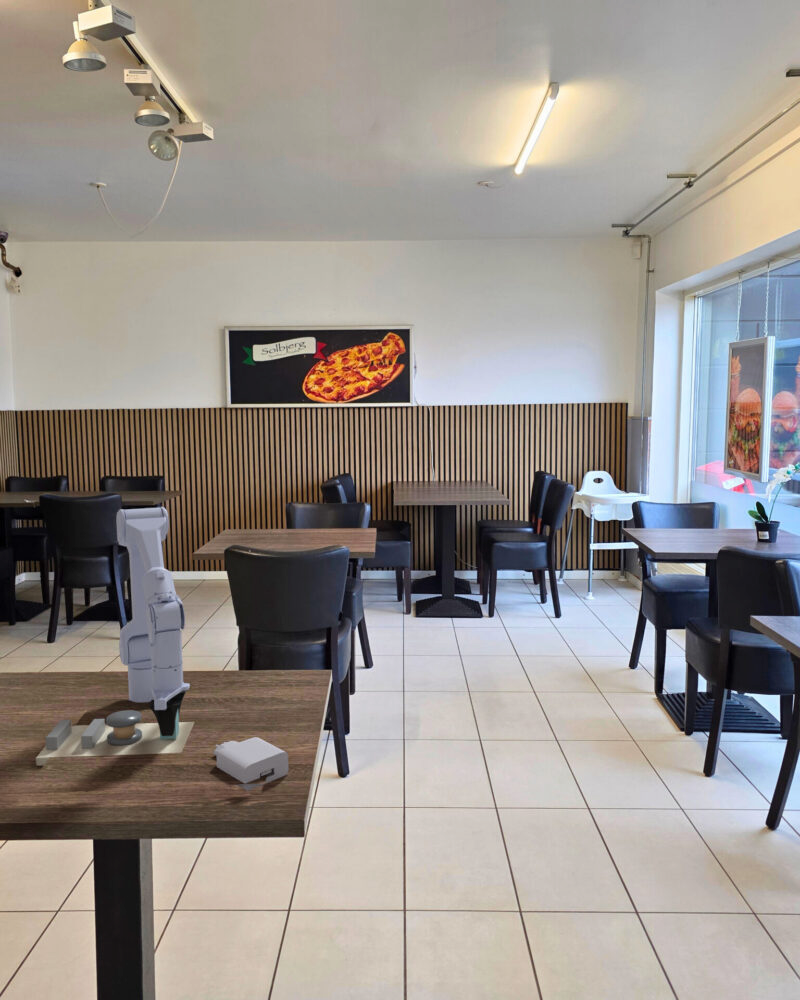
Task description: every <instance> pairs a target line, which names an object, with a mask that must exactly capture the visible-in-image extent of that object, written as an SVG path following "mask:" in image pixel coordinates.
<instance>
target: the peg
mask: <svg viewBox="0 0 800 1000" xmlns="http://www.w3.org/2000/svg"><path fill="white" fill-rule="evenodd" d="M179 722H180V714H179V713H178V710H177V715H176V721H175V730H174V734H173V736H162V735H161V732H160V739H176V738H177V736H178V734H179Z"/></svg>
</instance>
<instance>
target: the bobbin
mask: <svg viewBox="0 0 800 1000" xmlns="http://www.w3.org/2000/svg"><path fill="white" fill-rule="evenodd" d="M105 721H106V722H105V725H108V726H110V727H113V732H111V733H109V734H108V735H107V742H108V744H110V745H114V746H125V745H130V744H133V743H136V742H138V741H139V740H141V738H142V731H141V730H140V729H137V728H135V724H140V722H141V721H142V713H141V711H138V710H131V709H128V710H127V709H126V710H119V711H116V712H112V713H111V714H110V713H109V715H108V716H106V719H105Z"/></svg>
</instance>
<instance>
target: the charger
mask: <svg viewBox="0 0 800 1000" xmlns="http://www.w3.org/2000/svg"><path fill="white" fill-rule="evenodd" d="M214 745H215V746H214V747H215V749H214V750H213V752H212V754H213V755H214V756H215V757H216V768H218V769H219V770H221V771H223V772H224V773H226V774H228V775H230V776H231V777H233V778H234V779H236V780H238V781H240V782H241V784H239V783H238V784H236V786H239V787H240V788H242V789H243V790H245V791H247V792H249V791H251V790H253V789H255V788H258V787H261V786H263V785H267V784H268V783H270V782H273V781H275V780H277V779H280V778H282V777H285V776H287V775H288V773H289V753H288V752H286V751H284V750H282V749H281V748H279V747H277V746H275V745H274V744H272V743H269V742H267V741H266V740H264V739H262V738H260V737H255V736H253V737H250V738H248V739H245V740H242V741H236V740H230V741H223V742H222V743H220V744H214ZM263 776H266V779H265V783H264V782H261V783H250V782H252V781H255V780H258V779H260V778H261V777H263Z"/></svg>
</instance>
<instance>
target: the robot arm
mask: <svg viewBox="0 0 800 1000" xmlns="http://www.w3.org/2000/svg"><path fill="white" fill-rule="evenodd" d="M115 521H116V522H115V523H116V538H117V542H118V545H119V546H122V547H126V549H127V551H128V554H129V555H128V557H129V571H130V573H129V575H130V593H131V594H130V595H131V614H132V616H131V617H132V619H131V620H130V621H129V622H128V623H127V624H125V625H124V626H123V627H122V628H121V629H120V632H119V641H118V643H119V644H118V645H119V647H118V648H119V657H120V662H121V664H123V665H124V666H127V679H128V701H131V702H133V703H149V708H150V710H151V711H152V714H154V716H155V719H156V721H157V723H158V725H159V728H160V732H161V735H162V736H173V734H174V730H175V721H176V715H177V710H178V713H179V715H180V713H181V708H182V703H183V700H184V697H185V695H186V693H187V690H190V687H191V686H190V685H191V683H188V682H184V668H183V665H184V664H183V639H182V638H183V637H182V636H183V634H182V633H183V632H182V630H183V631H184V629H185V625H186V612H185V609H184V604H183V601H182V600H181V598H180V596H179V595H177V593H176V592H177V591H176V587H175V583H174V578H173V575H172V572H171V571H170V570H168V569H166V568H165V564H164V563H165V562H164V555H163V547H162V542H163V541H165V540H166V538H167V534H168V533H169V530H170V529H169V528H170V521H169V512H168V510H167V509H166V508H165V507H164V506H160V507H145V508H131V509H123V508H122V509H121V508H120V509H118V511H117V512H116V520H115Z"/></svg>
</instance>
